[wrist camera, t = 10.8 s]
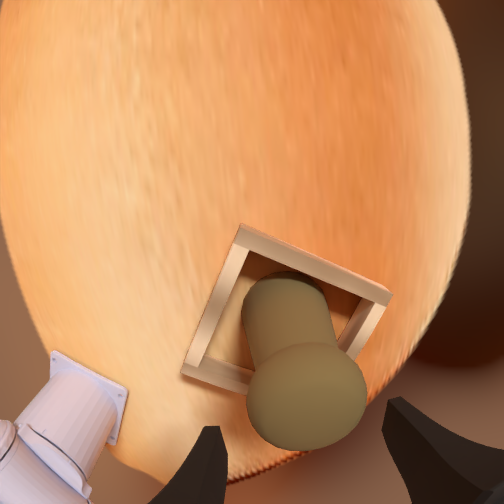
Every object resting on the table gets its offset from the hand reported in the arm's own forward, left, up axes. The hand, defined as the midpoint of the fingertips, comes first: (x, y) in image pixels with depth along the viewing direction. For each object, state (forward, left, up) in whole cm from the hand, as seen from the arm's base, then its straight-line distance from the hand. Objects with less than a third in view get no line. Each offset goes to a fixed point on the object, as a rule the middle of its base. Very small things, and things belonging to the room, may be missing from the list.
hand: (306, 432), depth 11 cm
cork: (+1, 0, -11) cm, 11 cm away
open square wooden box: (0, 0, -10) cm, 10 cm away
